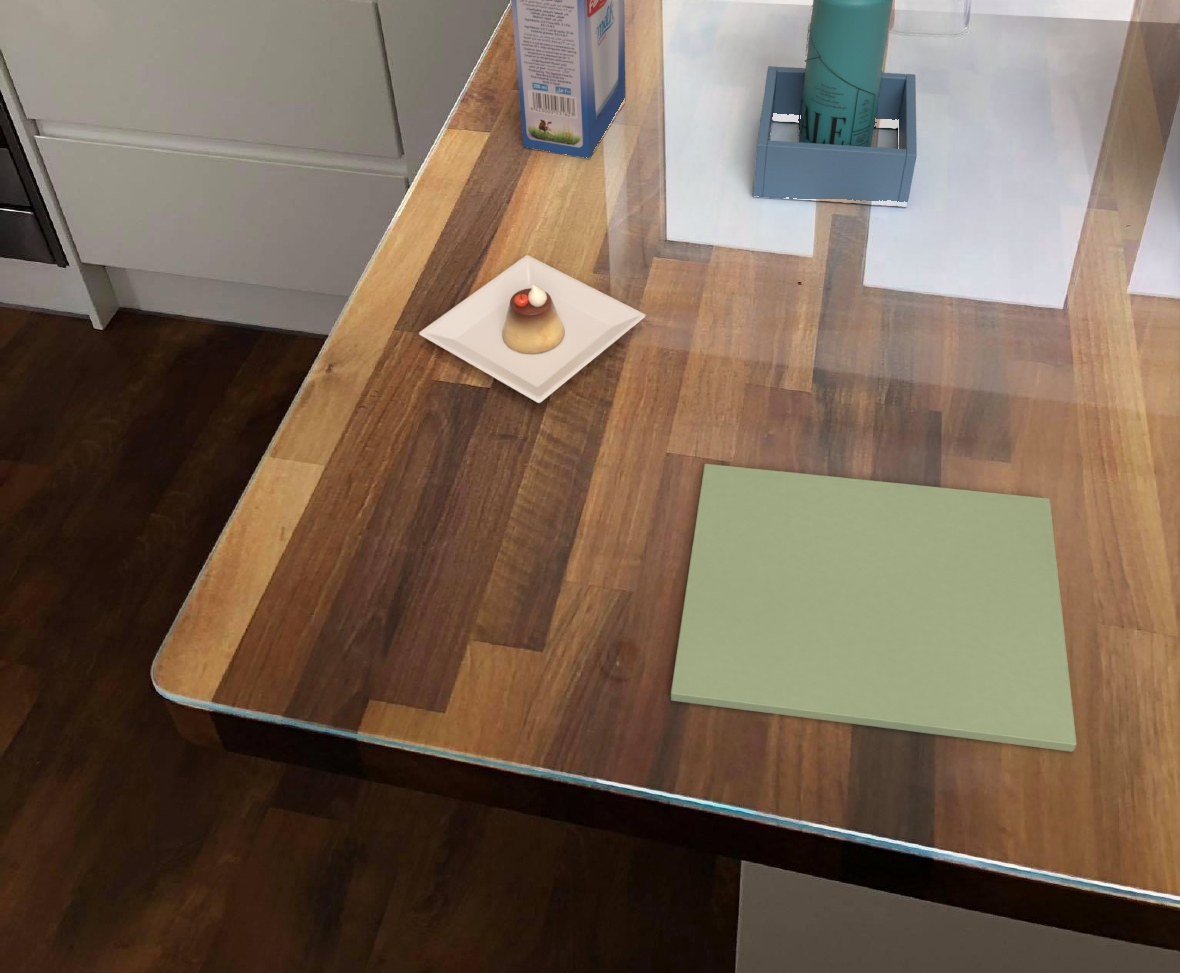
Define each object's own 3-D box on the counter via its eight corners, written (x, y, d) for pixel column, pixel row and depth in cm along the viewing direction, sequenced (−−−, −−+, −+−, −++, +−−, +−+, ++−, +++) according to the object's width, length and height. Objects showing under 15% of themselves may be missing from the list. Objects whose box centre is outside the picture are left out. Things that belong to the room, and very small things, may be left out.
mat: (1047, 506, 78) (1050, 497, 78) (1073, 752, 66) (1077, 744, 66) (704, 471, 81) (704, 463, 81) (670, 700, 69) (670, 693, 69)
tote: (906, 126, 109) (915, 74, 105) (906, 208, 100) (916, 155, 97) (763, 117, 110) (768, 65, 107) (752, 197, 102) (756, 144, 98)
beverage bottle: (871, 142, 107) (907, -92, 92) (869, 185, 103) (907, -53, 88) (796, 137, 108) (820, -95, 93) (791, 179, 104) (815, -57, 89)
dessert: (419, 344, 91) (410, 293, 87) (527, 265, 97) (523, 215, 93) (540, 414, 85) (535, 363, 82) (646, 326, 91) (647, 275, 88)
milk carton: (562, 92, 114) (551, -132, 100) (625, 102, 113) (623, -124, 98) (523, 148, 108) (504, -81, 93) (589, 160, 107) (580, -72, 92)
